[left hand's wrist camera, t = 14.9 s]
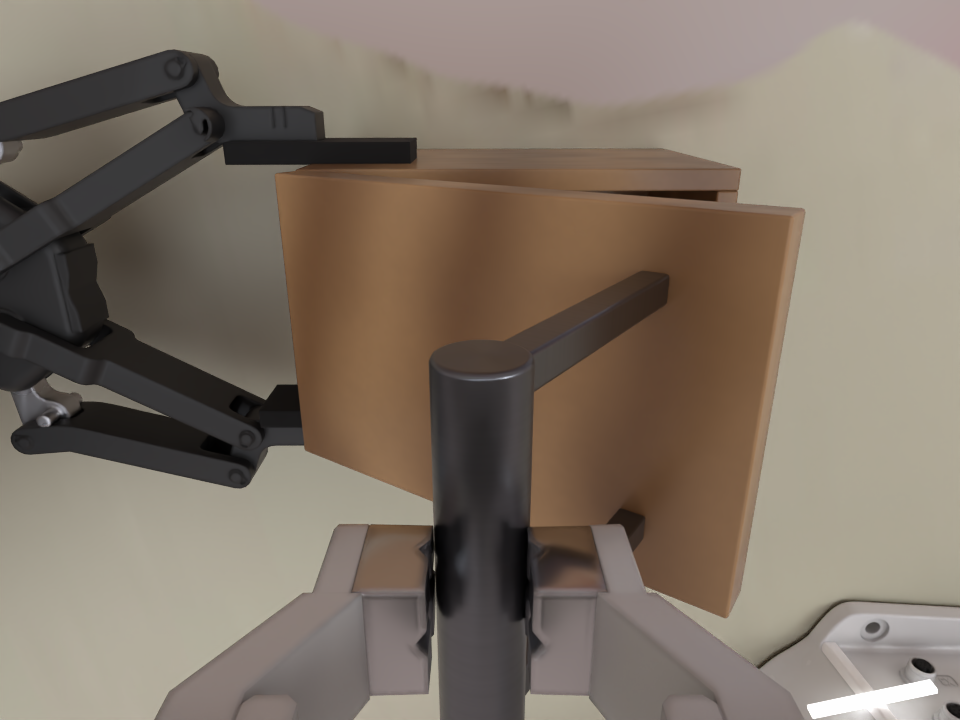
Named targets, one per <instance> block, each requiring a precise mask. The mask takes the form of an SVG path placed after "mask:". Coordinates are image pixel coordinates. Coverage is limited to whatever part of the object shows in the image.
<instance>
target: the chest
mask: <svg viewBox="0 0 960 720" xmlns="http://www.w3.org/2000/svg"><path fill="white" fill-rule="evenodd" d="M302 170H307V171H320V172H333V173H346V174H359V175H372V176H386V177H399V178H412V179H425V180H438V181H451V182H464V183H477V184H490V185H503V186H517V187H530V188H543V189H556V190H569V191H582V192H595V193H608V194H621V195H634V196H648V197H661V198H674V199H687V200H700V201H713V202H726V203H737V196H738V192H737V190H738V189H739V182H740V175H741V169H740V168H736V167H732V166H728V165H724V164H721V163H717V162H713V161H709V160H705V159H701V158H697V157H693V156H689V155H686V154H682V153H678V152H674V151H670V150H665V149H417V158H416V159H415V160H414V161H413V162H412V163H411V164H310V165H308V166H305V167H302V168H300V169H297V170H296V171H302Z"/></svg>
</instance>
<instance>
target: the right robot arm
mask: <svg viewBox="0 0 960 720" xmlns="http://www.w3.org/2000/svg"><path fill="white" fill-rule="evenodd" d="M218 77H219V72H218V67H217V65H216V64H215V62H214V61H213V60H212V59H211V58H210V57H208V56H206V55H203V54H197V53H192V52H186V51H180V50H167V51H163V52H160V53H157V54H154V55H150V56H147V57H144V58H141V59H138V60H134V61H131V62H128V63H125V64H122V65H118V66H115V67H112V68H109V69H106V70H102V71H99V72H96V73H93V74H89V75H86V76H83V77H80V78H77V79H73V80H70V81H67V82H64V83H61V84H57V85H54V86H51V87H48V88H45V89H41V90H38V91H35V92H32V93H28V94H25V95H22V96H19V97H16V98H12V99H9V100H6V101H3V102H0V164H2V163H5V162H10V161H13V160H14V159H16V157H17V156H18V153H19V152H20V151H21V150H22V148H23V144H22V142H21V140H31V139H41V138H47V137H51V136H55V135H59V134H62V133H65V132H69V131H72V130H75V129H78V128H82V127H85V126H88V125H92V124H95V123H98V122H101V121H105V120H108V119H111V118H115V117H118V116H121V115H125V114H128V113H131V112H134V111H138V110H141V109H144V108H148V107H151V106H154V105H157V104H161V103H164V102H167V101H171V100H174V99H177V100H178V102H179V104H180V106H181V108H182V110H183V112H184V114H183V115H182V116H180V117H179V118H177V119H176V120H174V121H172V122H171V123H169V124H168V125H166V126H165V127H163V128H162V129H160V130H158V131H157V132H155V133H154V134H152V135H151V136H149V137H148V138H146V139H145V140H143V141H141V142H140V143H138V144H137V145H135V146H134V147H132V148H131V149H129V150H127V151H126V152H124V153H123V154H121V155H120V156H118V157H117V158H115V159H113V160H112V161H110V162H109V163H107V164H106V165H104V166H103V167H101V168H99V169H98V170H96V171H95V172H93V173H92V174H90V175H89V176H87V177H86V178H84V179H82V180H81V181H79V182H78V183H76V184H75V185H73V186H72V187H70V188H68V189H67V190H65V191H64V192H62V193H61V194H59V195H57V196H56V197H54V198H52V199H50V200H47V201H45V202H43V203H41V204H37V203H35V202H34V201H32V200H31V199H29V198H27V197H26V196H24V195H23V194H21V193H19V192H18V191H16V190H15V189H13V188H11V187H10V186H8V185H7V184H5V183H3V182H2V181H0V389H2V390H5V391H10V392H11V394H12V397H13V399H14V402H15V405H16V407H17V410H18V413H19V416H20V418H21V421H22V424H23V425H22V426H21V427H20V428H18V429H17V430H15V431H14V432H13V433H12V435H11V443H12V445H13V446H14V448H15V449H16V450H18V451H19V452H21V453H23V454H30V455H32V454H44V453H57V452H69V451H70V452H74V453H79V454H84V455H88V456H93V457H97V458H102V459H106V460H111V461H115V462H120V463H124V464H129V465H133V466H138V467H142V468H147V469H151V470H156V471H160V472H165V473H169V474H174V475H178V476H183V477H187V478H192V479H196V480H201V481H205V482H210V483H214V484H219V485H223V486H228V487H232V488H244V487H246V486H247V485H248V484H249V483H250V482H251V480H252V478H253V477H254V475H255V473H256V472H257V470H258V468H259V467H260V465H261V463H262V462H263V460H264V458H265V457H266V455H267V452H268V447H270V446H276V445H304V438H303V429H302V420H301V411H300V402H299V393H298V385H277V386H276V387H275V389H274V390H273V391H272V393H271V394H270V396H269V397H268V399H267V400H264V399H262V398H260V397H258V396H256V395H254V394H251V393H249V392H247V391H245V390H243V389H241V388H239V387H236V386H234V385H232V384H230V383H228V382H226V381H224V380H221V379H219V378H217V377H215V376H213V375H211V374H209V373H206V372H204V371H202V370H200V369H198V368H196V367H194V366H192V365H189V364H187V363H185V362H183V361H181V360H179V359H177V358H174V357H172V356H170V355H168V354H166V353H164V352H162V351H159V350H157V349H155V348H153V347H151V346H149V345H147V344H144V343H142V342H140V341H138V340H137V339H136V338H135V336H134V334H133V333H132V332H131V331H130V330H128V329H126V328H124V327H122V326H120V325H118V324H115V323H113V322H111V321H109V320H107V318H108V317H109V315H108V310H107V305H106V300H105V298H104V296H103V294H102V292H101V290H100V288H99V286H98V284H97V281H96V277H97V258H96V253H95V248H94V244H87V243H86V241H85V239H84V238H83V235H85V234H86V233H88V232H89V231H91V230H93V229H94V228H96V227H97V226H99V225H101V224H102V223H104V222H105V221H107V220H108V219H110V218H111V216H112V215H114V214H115V213H117V212H118V211H120V210H121V209H123V208H125V207H126V206H128V205H129V204H131V203H133V202H134V201H136V200H137V199H139V198H141V197H142V196H144V195H145V194H147V193H149V192H150V191H152V190H153V189H155V188H157V187H158V186H160V185H161V184H163V183H165V182H166V181H168V180H169V179H171V178H173V177H174V176H176V175H177V174H179V173H181V172H182V171H184V170H185V169H187V168H189V167H190V166H192V165H193V164H195V163H197V162H198V161H200V160H201V159H203V158H205V157H206V156H208V155H209V154H211V153H213V152H214V151H216V150H217V149H219V148H221V147H222V146H223V149H224V156H225V164H226V165H310V164H411V163H412V162H413V161H414V160H415V159H416V158H417V141H416V138H325V129H324V117H323V112H322V111H320V110H317V109H315V108H312V107H310V106H241V105H238V104H236V103H234V102H233V101H231V100H230V99H229V98H228V96H227V95H226V93H225V92H224V90H223V88H222V86H221V83H220V81H219V79H218ZM87 345H90V347H87V348H85V347H86V346H87ZM53 373H55V374H57V375H60V376H62V377H64V378H66V379H69V380H71V381H73V382H75V383H78V384H82V385H93V384H95V385H100V386H102V387H104V388H107V389H109V390H111V391H113V392H116V393H118V394H120V395H122V396H124V397H127V398H129V399H131V400H133V401H136V402H138V403H140V404H142V405H144V406H147V407H149V408H151V409H153V410H156V411H158V412H160V413H162V414H164V415H167V416H169V417H166V416H162V415H157V414H153V413H149V412H144V411H140V410H136V409H131V408H127V407H122V406H118V405H114V404H108V403H103V402H82V397H81V395H79V394H78V393H75V392H74V393H71V394H68V393H63V392H58V391H56V390H54V389H53V388H52V387H51V386H50V385H49V384H48V382H47V380H46V378H48V377H49V376H50V375H51V374H53ZM170 417H171V418H170Z"/></svg>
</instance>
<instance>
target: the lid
mask: <svg viewBox="0 0 960 720" xmlns="http://www.w3.org/2000/svg"><path fill="white" fill-rule="evenodd" d="M275 182H276V192H277V201H278V210H279V219H280V228H281V237H282V246H283V255H284V265H285V274H286V283H287V292H288V301H289V310H290V319H291V329H292V338H293V347H294V356H295V365H296V374H297V383H298V393H299V402H300V411H301V420H302V429H303V438H304V447H305V450H306V451H308V452H310V453H313V454H315V455H318V456H320V457H323V458H325V459H328V460H330V461H333V462H335V463H338V464H340V465H343V466H345V467H348V468H350V469H353V470H355V471H358V472H360V473H363V474H365V475H368V476H370V477H373V478H375V479H378V480H380V481H383V482H385V483H388V484H390V485H393V486H395V487H398V488H400V489H403V490H405V491H408V492H410V493H413V494H415V495H418V496H420V497H423V498H425V499H428V500H430V501H433V514H434V545H435V576H436V607H437V638H438V669H439V700H440V720H524V715H525V695H526V694H527V692H528V691H529V690H530V681H529V670H528V660H527V649H528V637H527V636H526V635H525V623H524V602H525V584H526V581H527V573H526V537H527V527H530V526H589V525H601V524H621V525H622V526H623V527H624V529H625V532H626V535H627V538H628V541H629V543H630V546H631V549H632V552H633V555H634V558H635V561H636V564H637V567H638V569H639V572H640V575H641V578H642V581H643V584H644V586H646V587H648V588H651V589H653V590H656V591H658V592H661V593H663V594H666V595H668V596H671V597H673V598H676V599H678V600H681V601H683V602H686V603H688V604H691V605H693V606H696V607H698V608H701V609H703V610H706V611H708V612H711V613H713V614H716V615H718V616H721V617H723V618H727V617H728V616H729V614H730V612H731V610H732V608H733V606H734V603H735V601H736V599H737V597H738V595H739V593H740V591H741V585H742V579H743V573H744V568H745V562H746V556H747V550H748V544H749V538H750V533H751V527H752V521H753V515H754V509H755V503H756V497H757V492H758V486H759V480H760V474H761V468H762V462H763V457H764V451H765V445H766V439H767V433H768V427H769V421H770V416H771V410H772V404H773V398H774V392H775V386H776V381H777V375H778V369H779V363H780V357H781V351H782V345H783V340H784V334H785V328H786V322H787V316H788V310H789V305H790V299H791V293H792V287H793V281H794V275H795V269H796V264H797V258H798V252H799V246H800V240H801V234H802V229H803V223H804V217H805V210H804V209H802V208H792V207H778V206H765V205H752V204H739V203H726V202H713V201H700V200H687V199H674V198H661V197H648V196H634V195H621V194H608V193H595V192H582V191H569V190H556V189H543V188H530V187H517V186H503V185H490V184H477V183H464V182H451V181H438V180H425V179H412V178H399V177H386V176H372V175H359V174H346V173H333V172H320V171H307V170H302V171H293V172H283V173H276V174H275Z"/></svg>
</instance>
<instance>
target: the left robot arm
mask: <svg viewBox="0 0 960 720" xmlns="http://www.w3.org/2000/svg"><path fill="white" fill-rule="evenodd" d="M434 551H435V545H434V529H433V526H422V525H375V524H371V525H368V524H339V525H338V526H337V527H336V528H335V529H334V531H333V534H332V537H331V540H330V543H329V546H328V549H327V552H326V555H325V558H324V560H323V563H322V566H321V569H320V572H319V575H318V578H317V581H316V584H315V587H314V590H313V592H312V593H302V594H301V595H299V596H298V597H297V598H295V599H294V600H293V601H291V602H290V603H289V604H287V605H286V606H285V607H283V608H282V609H280V610H279V611H278V612H276V613H275V614H274V615H272V616H271V617H270V618H268V619H267V620H266V621H264V622H263V623H262V624H260V625H259V626H257V627H256V628H255V629H253V630H252V631H251V632H249V633H248V634H247V635H245V636H244V637H243V638H241V639H240V640H239V641H237V642H236V643H234V644H233V645H232V646H230V647H229V648H228V649H226V650H225V651H224V652H222V653H221V654H220V655H218V656H217V657H216V658H214V659H213V660H211V661H210V662H209V663H207V664H206V665H205V666H203V667H202V668H201V669H199V670H198V671H197V672H195V673H194V674H192V675H191V676H190V677H188V678H187V679H186V680H184V681H183V682H182V683H180V684H179V685H178V686H176V687H175V688H174V689H172V690H171V691H169V693H168V695H167V697H166V699H165V700H164V702H163V704H162V706H161V708H160V710H159V712H158V714H157V716H156V717H155V719H154V720H353V719H354V718H355V717H356V715H357V714H358V713H359V712H360V711H361V709H362V708H363V707H364V706H365V704H366V703H367V702H368V701H369V699H370V696H374V695H408V694H428V692H429V682H430V671H431V661H432V645H431V637H432V636H433V635H434V625H435V605H436V576H435V571H434V570H433V562H434ZM526 573H527V581H526V584H525V602H524V623H525V635H526V636H527V637H528V649H527V660H528V670H529V681H530V691H531V694H550V695H585V696H589V699H590V700H591V701H592V703H593V704H594V705H595V706H596V707H597V709H598V710H599V711H600V712H601V714H602V715H603V716H604V717H605V719H606V720H960V607H946V606H928V605H910V604H893V603H875V602H857V601H850V602H844V603H841V604H839V605H837V606H836V607H834V608H833V609H831V610H830V611H829V612H828V613H827V614H826V615H825V616H824V617H823V618H822V619H821V621H820V622H819V623H818V624H817V625H816V626H815V628H814V629H813V630H812V631H811V633H810V634H809V635H808V636H807V637H805V638H804V639H803V640H801V641H800V642H798V643H797V644H795V645H794V646H792V647H790V648H789V649H787V650H785V651H784V652H782V653H780V654H779V655H777V656H776V657H774V658H773V659H771V660H770V661H768V662H767V663H766V664H765V665H763V666H762V667H761V668H760V669H758V668H756V667H755V666H754V665H752V664H751V663H750V662H748V661H747V660H746V659H744V658H743V657H742V656H740V655H739V654H738V653H736V652H735V651H734V650H732V649H731V648H730V647H728V646H727V645H725V644H724V643H723V642H721V641H720V640H719V639H717V638H716V637H715V636H713V635H712V634H711V633H709V632H708V631H707V630H705V629H704V628H703V627H701V626H700V625H699V624H697V623H696V622H695V621H693V620H692V619H690V618H689V617H688V616H686V615H685V614H684V613H682V612H681V611H680V610H678V609H677V608H676V607H674V606H673V605H672V604H670V603H669V602H668V601H666V600H665V599H664V598H662V597H661V596H660V595H658V594H657V593H646V590H645V587H644V584H643V581H642V578H641V575H640V572H639V569H638V567H637V564H636V561H635V558H634V555H633V552H632V549H631V546H630V543H629V541H628V538H627V535H626V532H625V529H624V527H623V526H622V525H621V524H601V525H589V526H530V527H527V537H526Z"/></svg>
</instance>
